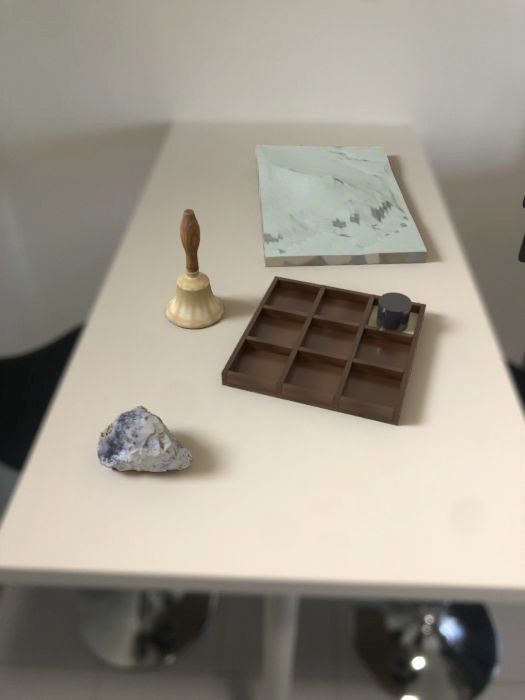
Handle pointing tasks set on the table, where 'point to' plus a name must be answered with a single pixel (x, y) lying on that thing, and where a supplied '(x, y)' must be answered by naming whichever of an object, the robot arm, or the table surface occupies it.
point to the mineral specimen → (141, 444)
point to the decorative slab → (333, 207)
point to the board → (325, 351)
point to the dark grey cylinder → (393, 311)
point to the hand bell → (193, 284)
